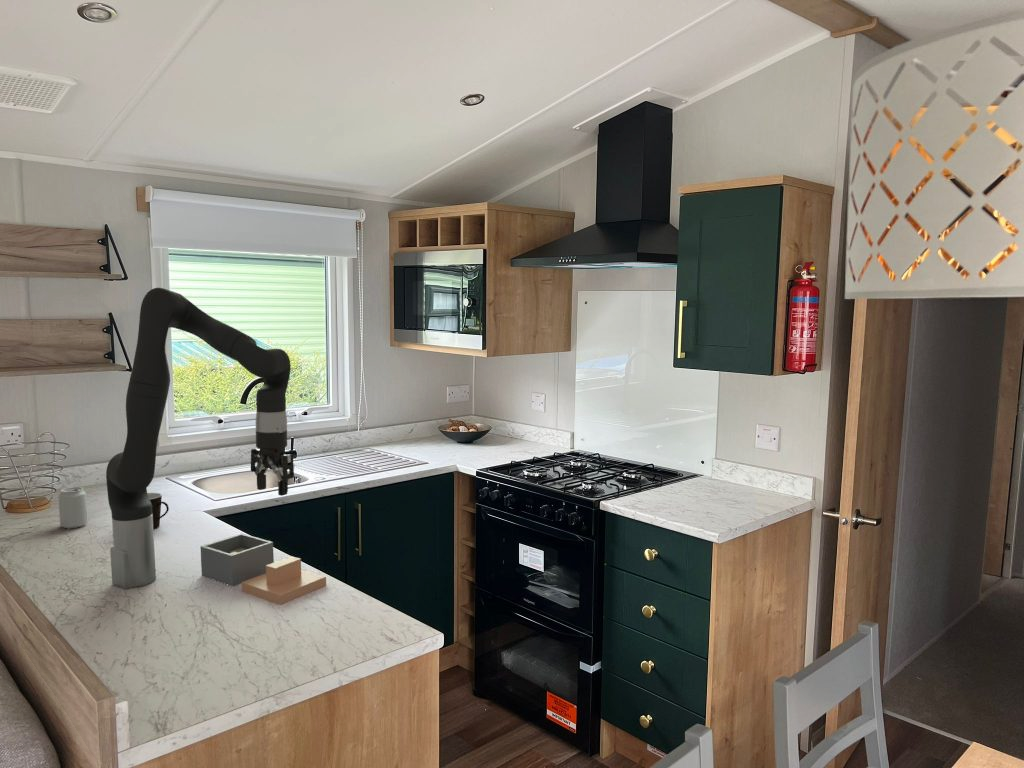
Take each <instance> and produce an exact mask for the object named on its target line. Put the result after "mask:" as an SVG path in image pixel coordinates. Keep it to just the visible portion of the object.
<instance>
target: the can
mask: <svg viewBox="0 0 1024 768" xmlns="http://www.w3.org/2000/svg"><path fill="white" fill-rule="evenodd" d="M57 499H58V512H59V525H60V527H62V528H63V529H65V528H67V529H66V530H72V529H71V528H74V529H79V528H81V526H82V527H84V526H85V525H86V524H87V523H88V522H89V521H88V505H87V504H88V503H87V493H86V491H85V490H84V488H83V487H81V486H73V487H65V488H61V490H60V493H59V494H58V496H57ZM78 527H79V528H78Z"/></svg>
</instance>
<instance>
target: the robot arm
mask: <svg viewBox="0 0 1024 768" xmlns="http://www.w3.org/2000/svg"><path fill="white" fill-rule="evenodd" d="M140 304H141V305H140V311H139V320H138V332H137V333H138V334H137V340H136V348H135V351H134V358H133V364H132V368H131V369H132V370H131V373H130V378H129V382H128V385H127V391H126V397H125V398H126V399H125V416H126V417H125V418H126V426H127V427H126V430H127V431H126V439H125V444H124V448H123V451H122V452H119V453H117V454H115V455H113V457H112V458H111V459H110V460H109V461H108V463H107V467H106V472H105V477H106V478H105V479H106V480H105V481H106V489H107V490H106V491H107V500H108V505H109V509H110V512H111V525H112V541H113V542H112V544H113V546H112V547H110V550H109V551H110V552H109V553H110V569H111V583H112V585H114V586H116V587H120V588H122V589H124V590H126V589H130V588H138V587H141V586H145V585H148V584H151V583H152V582H155V580H156V578H157V577H156V576H157V575H156V574H157V573H156V572H157V569H156V558H155V557H156V556H155V555H156V554H155V536H154V535H155V533H154V529H153V514H152V504H151V501H150V499H149V497H148V494H147V493H148V491H147V490H148V487H149V486H150V485H151V483H152V481H153V479H154V476H155V469H156V460H157V459H156V457H157V449H158V448H157V447H158V439H159V435H160V431H161V426H162V422H163V418H164V412H165V408H166V404H167V400H168V397H169V396H168V395H169V391H170V385H171V373H170V367H169V363H168V357H167V352H166V346H167V345H166V343H167V342H166V341H167V336H168V332H169V328H171V329H172V328H174V329H176V330H179V331H182V332H186V333H189V334H192V335H194V336H195V337H198V338H199V339H201V340H203V341H204V342H205V343H206V344H207V345H208V346H209V347H211V348H212V349H214V350H216V351H217V352H219V353H220V354H222V355H224V356H226V357H228V358H230V359H232V360H234V361H236V362H237V363H238V364H239V365H241V367H243V368H244V369H245V370H246V371H247V372H249V373H250V374H252V375H253V376H256V377H257V378H258V377H259V378H261V379H264V380H263V384H262V386H261V387H260V388H259V389H257V391H256V397H255V399H256V401H255V402H256V405H255V408H256V414H255V415H256V416H255V447H256V448H251V450H250V471H251V472H254V474H255V475H256V488H257V490H259V491H261V490H266V488H267V474H266V473H267V471H268V469H269V470H270V471H271V470H272V472H273V474H276V477H277V479H278V481H277V482H278V483H277V484H278V485H277V487H278V488H277V489H278V491H277V492H278V496H280V497H281V496H286V495H288V491H289V486H288V485H289V483H288V482H289V480H291V479H294V478H295V471H294V469H295V467H294V465H295V464H294V454H292V453H291V454H285V448H286V447H288V418H287V410H286V409H287V399H286V392H287V391H288V385H289V380H290V376H291V367H292V365H291V360H290V357H289V355H288V353H287V352H286V351H285V350H284V349H281V348H268V349H267V348H263V347H261V346H259V345H258V344H257V342H256V340H255V339H254V338H253V337H252V336H250V335H248V334H246V333H244V332H243V331H241V330H239V329H237V328H235V327H232V326H231V325H229V324H227V323H224V322H222V321H220V320H219V319H216V318H215V317H213V316H210V315H209V314H208V313H206V312H205V311H203V310H202V309H200V308H199V307H198V306H196V305H195V304H194V303H192V302H191V301H190V300H189V299H187V298H186V297H185V296H184V295H182V293H178V292H175V291H172V290H169V289H166V288H163V287H155V288H152V289H150V290H149V291H148V292H146V294H145V295H144V297H143V299H142V301H141V303H140ZM288 472H289V473H288Z"/></svg>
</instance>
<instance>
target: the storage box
mask: <svg viewBox="0 0 1024 768" xmlns="http://www.w3.org/2000/svg"><path fill="white" fill-rule="evenodd" d="M274 555H275V554H274V542H273V541H271V540H268V539H263V538H261V537H260V538H259V537H256V536H253V535H248V534H245V533H239V534H236V535H233V536H229V537H227V538H223V539H220V540H217V541H213V542H210V543H208V544H203V545H201V546H200V562H201V563H200V564H201V565H200V567H201V577H203V576H204V577H203V578H206V577H207V578H206V579H209V578H210V580H212V579H214V580H213V581H215V580H216V582H218V581H219V583H221V582H222V583H221V584H224V583H225V584H224V585H227V584H228V586H230V587H235V586H238V585H241V582H244V581H246V580H249V579H252V578H254V577H257V576H260V575H262V574H265V573H266V565H268V564H271V563H274V562H275V559H274V558H275V557H274Z"/></svg>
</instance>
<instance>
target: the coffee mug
mask: <svg viewBox="0 0 1024 768" xmlns="http://www.w3.org/2000/svg"><path fill="white" fill-rule="evenodd" d="M147 494H148V497H149V499H150V501H151V504H152V514H153V530H157V529H159V528H160V524H161V523H160V522H161V519H162V518H163V517H164V516H166V515H167V514H168V512H169V510H170V508H169V504H168V503H167V502H166V501H162V499H163V498H162V496H163V494H162V493H160V492H147ZM162 505H165V508H166V510H165V512H164V513H163V514H162V515H161V512H162V511H161V510H162Z"/></svg>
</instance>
